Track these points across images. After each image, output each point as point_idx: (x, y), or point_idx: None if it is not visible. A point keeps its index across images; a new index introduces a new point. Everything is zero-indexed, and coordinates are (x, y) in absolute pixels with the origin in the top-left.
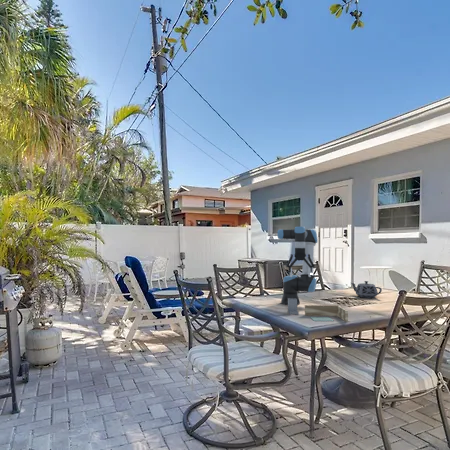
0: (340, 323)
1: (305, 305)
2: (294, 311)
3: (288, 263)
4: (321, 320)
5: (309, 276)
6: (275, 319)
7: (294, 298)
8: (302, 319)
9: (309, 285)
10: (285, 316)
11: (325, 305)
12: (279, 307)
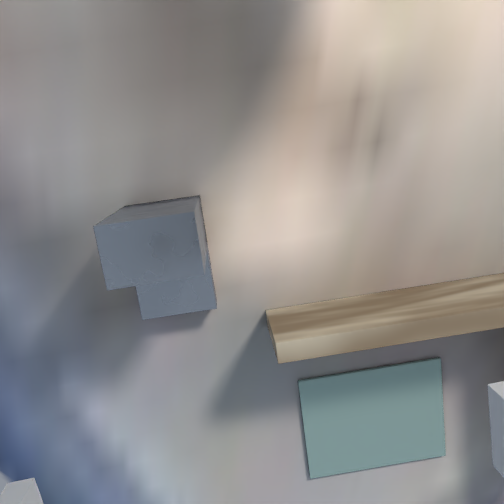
0: (469, 500)
1: (280, 360)
2: (180, 303)
3: None
4: (362, 466)
5: (498, 467)
6: None
7: (175, 233)
8: (233, 449)
9: None
10: (107, 384)
11: (471, 325)
12: (30, 4)
